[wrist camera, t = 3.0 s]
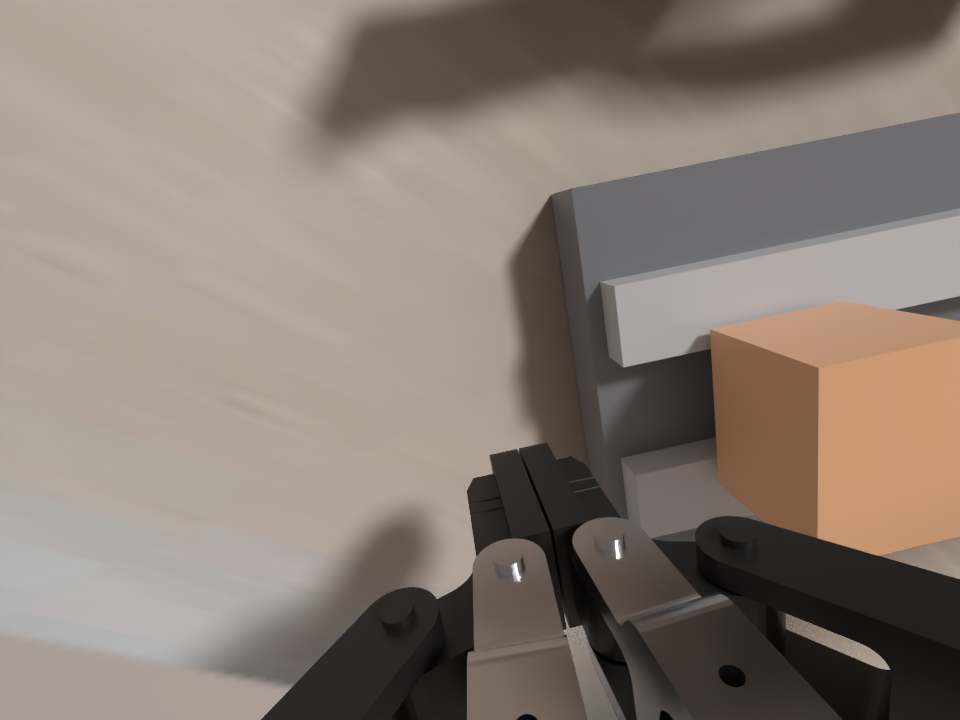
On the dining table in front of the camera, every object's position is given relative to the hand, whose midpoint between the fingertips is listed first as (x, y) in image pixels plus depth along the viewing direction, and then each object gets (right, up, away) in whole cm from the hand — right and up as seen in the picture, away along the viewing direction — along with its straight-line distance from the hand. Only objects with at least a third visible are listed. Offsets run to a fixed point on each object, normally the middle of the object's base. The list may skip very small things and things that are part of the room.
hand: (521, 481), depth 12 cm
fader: (+8, +2, +3) cm, 9 cm away
